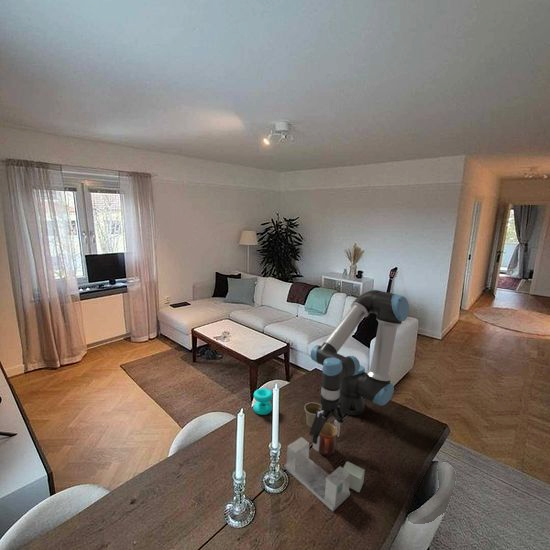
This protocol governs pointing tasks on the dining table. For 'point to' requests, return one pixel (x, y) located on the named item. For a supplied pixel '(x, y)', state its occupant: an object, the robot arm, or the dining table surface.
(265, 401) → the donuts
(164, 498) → the dining table surface
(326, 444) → the mug
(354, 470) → the block
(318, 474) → the grey u-shaped block
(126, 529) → the dining table surface
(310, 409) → the flower pot
